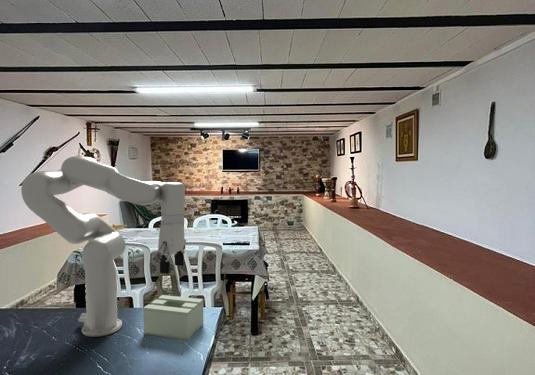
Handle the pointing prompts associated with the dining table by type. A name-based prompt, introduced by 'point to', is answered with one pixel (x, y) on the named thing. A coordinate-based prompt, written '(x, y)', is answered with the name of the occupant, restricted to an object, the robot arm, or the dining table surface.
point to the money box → (173, 317)
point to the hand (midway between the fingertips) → (172, 269)
